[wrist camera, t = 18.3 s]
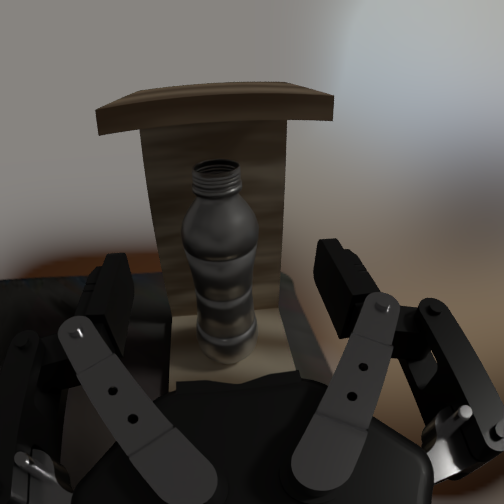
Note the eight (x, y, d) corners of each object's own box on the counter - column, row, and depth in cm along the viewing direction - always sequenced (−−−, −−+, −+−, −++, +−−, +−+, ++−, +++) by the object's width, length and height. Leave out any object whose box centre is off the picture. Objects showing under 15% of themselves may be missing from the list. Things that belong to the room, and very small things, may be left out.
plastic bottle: (193, 368, 31) (157, 183, 20) (206, 322, 37) (186, 153, 26) (255, 374, 31) (256, 184, 19) (260, 326, 36) (263, 154, 25)
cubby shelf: (297, 385, 31) (334, 95, 16) (171, 397, 29) (95, 109, 14) (275, 308, 40) (284, 82, 25) (174, 316, 39) (138, 90, 24)
